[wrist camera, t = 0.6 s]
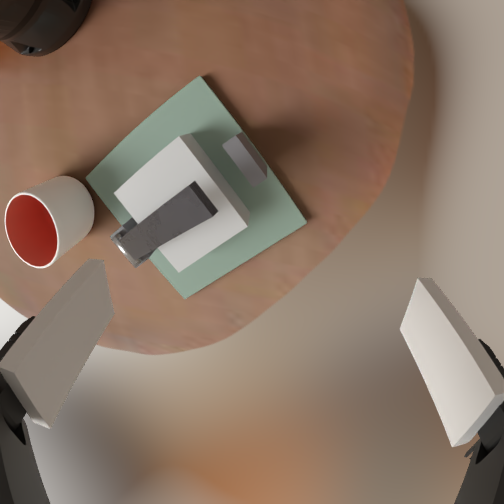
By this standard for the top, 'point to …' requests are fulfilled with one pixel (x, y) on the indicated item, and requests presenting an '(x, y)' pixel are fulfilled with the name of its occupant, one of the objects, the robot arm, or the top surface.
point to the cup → (48, 220)
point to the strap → (166, 223)
